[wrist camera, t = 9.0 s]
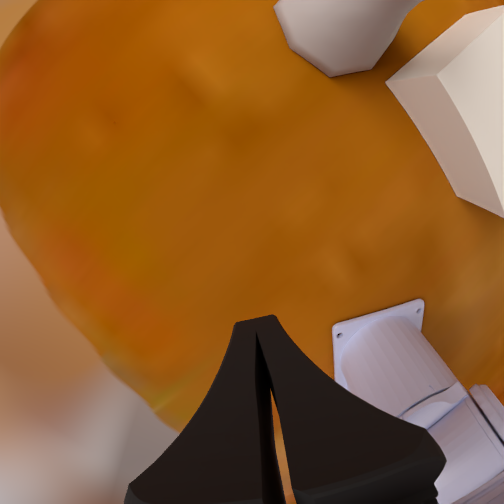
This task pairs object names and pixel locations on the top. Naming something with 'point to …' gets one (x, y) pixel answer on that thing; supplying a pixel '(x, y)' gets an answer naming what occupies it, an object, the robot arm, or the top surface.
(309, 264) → the top surface
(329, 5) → the flask
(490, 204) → the socket block
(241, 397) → the robot arm
